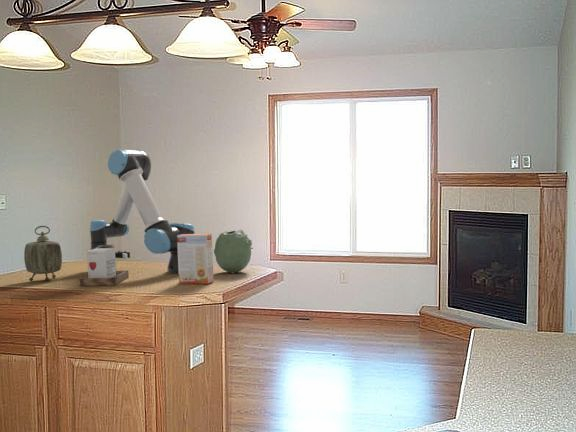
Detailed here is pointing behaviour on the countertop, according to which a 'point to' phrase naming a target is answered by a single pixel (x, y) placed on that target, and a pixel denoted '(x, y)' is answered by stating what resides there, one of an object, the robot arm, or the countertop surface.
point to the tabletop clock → (43, 256)
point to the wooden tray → (105, 281)
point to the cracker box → (195, 258)
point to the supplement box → (101, 263)
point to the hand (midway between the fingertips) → (112, 258)
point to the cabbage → (233, 251)
